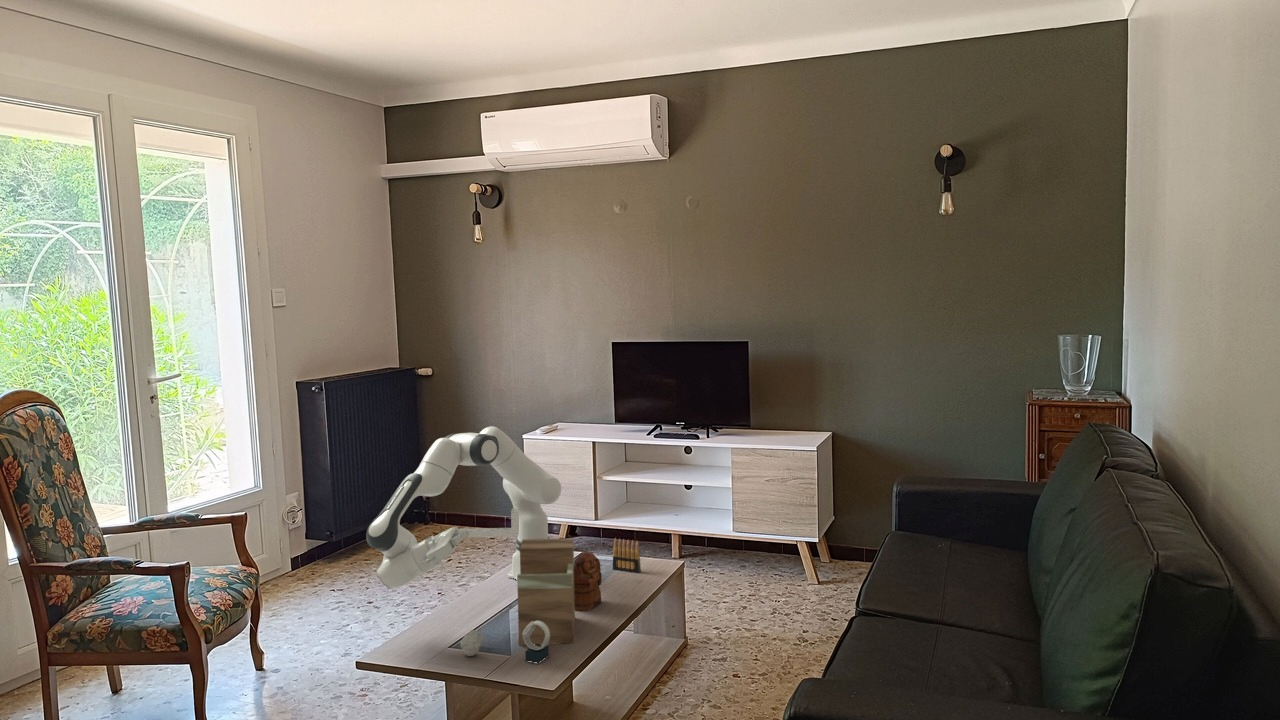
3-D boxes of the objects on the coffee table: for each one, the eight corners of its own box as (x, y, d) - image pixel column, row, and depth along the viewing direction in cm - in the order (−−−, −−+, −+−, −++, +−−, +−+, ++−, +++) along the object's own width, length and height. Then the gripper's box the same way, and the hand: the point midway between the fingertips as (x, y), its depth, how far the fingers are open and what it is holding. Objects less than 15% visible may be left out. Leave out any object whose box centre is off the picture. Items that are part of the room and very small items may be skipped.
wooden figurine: (585, 613, 285) (584, 559, 283) (569, 609, 288) (568, 556, 286) (605, 601, 295) (604, 549, 293) (590, 598, 298) (589, 546, 296)
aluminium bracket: (459, 534, 268) (459, 509, 267) (519, 534, 269) (518, 508, 268) (458, 537, 265) (457, 511, 264) (518, 537, 266) (517, 511, 265)
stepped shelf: (524, 619, 281) (522, 539, 278) (574, 617, 281) (573, 538, 279) (518, 645, 261) (516, 559, 258) (573, 643, 261) (571, 558, 259)
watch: (530, 652, 255) (529, 616, 254) (554, 657, 252) (553, 620, 251) (519, 660, 250) (518, 623, 249) (543, 665, 247) (543, 627, 246)
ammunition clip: (612, 569, 327) (612, 538, 326) (614, 568, 329) (614, 536, 328) (638, 573, 323) (638, 541, 322) (640, 571, 325) (640, 540, 324)
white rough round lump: (487, 654, 254) (487, 631, 254) (467, 662, 250) (466, 638, 249) (476, 648, 259) (475, 625, 258) (455, 655, 254) (454, 632, 253)
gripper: (415, 556, 256) (456, 532, 256) (429, 536, 276) (467, 514, 276) (427, 574, 257) (468, 550, 257) (439, 552, 277) (477, 530, 277)
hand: (467, 531), depth 267 cm, fingers closed on aluminium bracket, 3 cm apart
